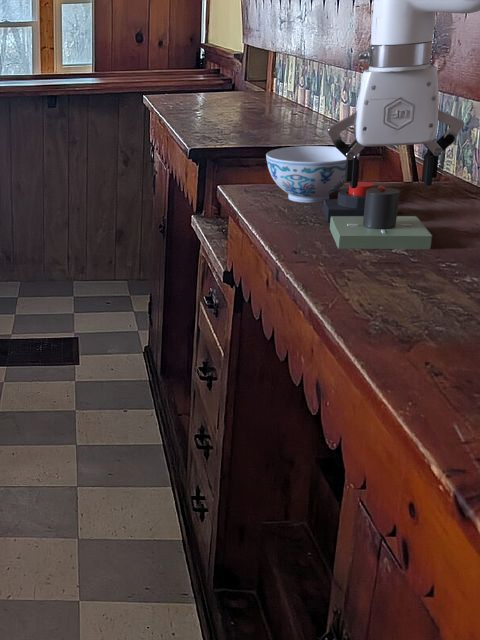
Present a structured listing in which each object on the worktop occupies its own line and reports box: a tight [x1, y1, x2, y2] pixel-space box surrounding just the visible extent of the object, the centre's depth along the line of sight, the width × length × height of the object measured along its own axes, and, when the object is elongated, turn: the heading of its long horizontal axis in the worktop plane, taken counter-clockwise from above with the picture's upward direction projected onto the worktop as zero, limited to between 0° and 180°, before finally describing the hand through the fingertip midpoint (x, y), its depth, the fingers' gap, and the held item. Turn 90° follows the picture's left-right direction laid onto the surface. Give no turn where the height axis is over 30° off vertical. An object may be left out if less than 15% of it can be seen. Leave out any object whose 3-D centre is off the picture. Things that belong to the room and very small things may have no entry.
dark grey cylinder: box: [363, 184, 401, 229], centre depth 124 cm, size 4×4×5 cm
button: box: [348, 181, 375, 196], centre depth 135 cm, size 4×4×2 cm
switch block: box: [322, 188, 366, 224], centre depth 136 cm, size 10×7×4 cm
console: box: [329, 215, 433, 250], centre depth 125 cm, size 12×11×2 cm
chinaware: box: [265, 145, 360, 204], centre depth 149 cm, size 15×15×8 cm
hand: (389, 184), depth 122 cm, fingers open, 9 cm apart
